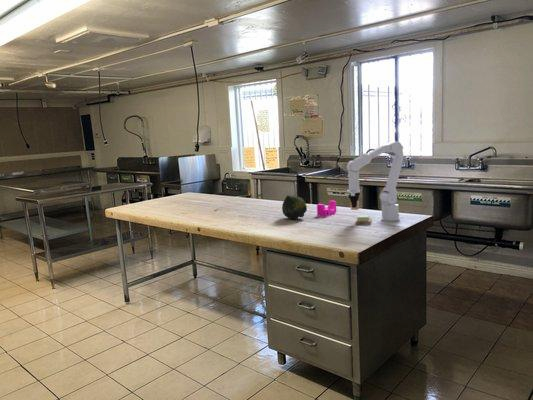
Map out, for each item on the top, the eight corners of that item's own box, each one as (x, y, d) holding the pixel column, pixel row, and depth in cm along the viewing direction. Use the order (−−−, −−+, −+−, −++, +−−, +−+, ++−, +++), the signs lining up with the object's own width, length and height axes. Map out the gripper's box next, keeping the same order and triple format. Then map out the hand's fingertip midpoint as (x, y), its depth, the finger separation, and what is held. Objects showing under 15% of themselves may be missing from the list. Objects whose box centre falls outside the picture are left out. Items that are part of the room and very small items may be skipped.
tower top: (369, 218, 236) (369, 214, 235) (368, 221, 230) (368, 217, 230) (358, 218, 238) (358, 214, 237) (357, 221, 232) (357, 217, 232)
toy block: (325, 217, 255) (325, 205, 254) (317, 216, 260) (316, 204, 258) (339, 212, 266) (339, 201, 264) (331, 211, 270) (331, 200, 269)
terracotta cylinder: (359, 208, 236) (359, 200, 235) (358, 209, 232) (358, 201, 231) (351, 208, 237) (351, 200, 236) (350, 209, 233) (350, 201, 232)
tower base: (371, 222, 237) (371, 218, 236) (370, 225, 229) (370, 221, 229) (357, 222, 239) (357, 218, 239) (355, 225, 232) (355, 221, 231)
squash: (296, 222, 246) (295, 197, 243) (277, 219, 256) (276, 195, 253) (311, 217, 256) (310, 193, 253) (293, 215, 266) (291, 192, 263)
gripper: (348, 180, 240) (349, 204, 242) (344, 184, 226) (345, 209, 229) (360, 180, 238) (361, 203, 240) (358, 184, 224) (359, 209, 226)
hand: (354, 206), depth 234 cm, fingers closed on terracotta cylinder, 4 cm apart
